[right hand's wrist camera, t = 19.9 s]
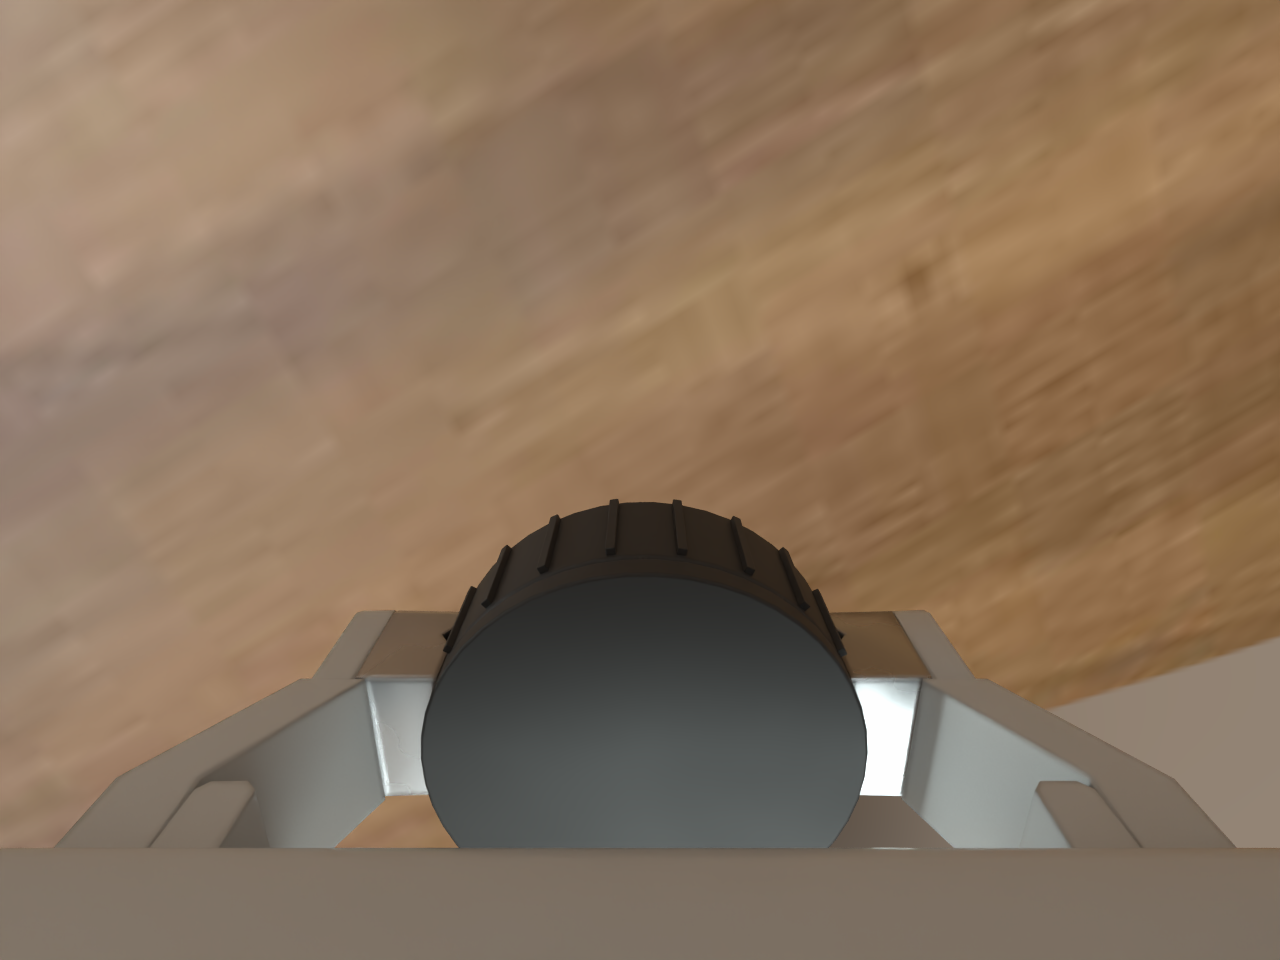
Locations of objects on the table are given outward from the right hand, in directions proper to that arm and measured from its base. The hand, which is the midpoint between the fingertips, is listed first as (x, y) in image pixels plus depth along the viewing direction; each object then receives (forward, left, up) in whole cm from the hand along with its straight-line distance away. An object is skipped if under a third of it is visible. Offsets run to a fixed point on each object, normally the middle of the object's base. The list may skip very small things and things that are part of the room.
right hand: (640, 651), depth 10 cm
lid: (0, 0, +2) cm, 2 cm away
